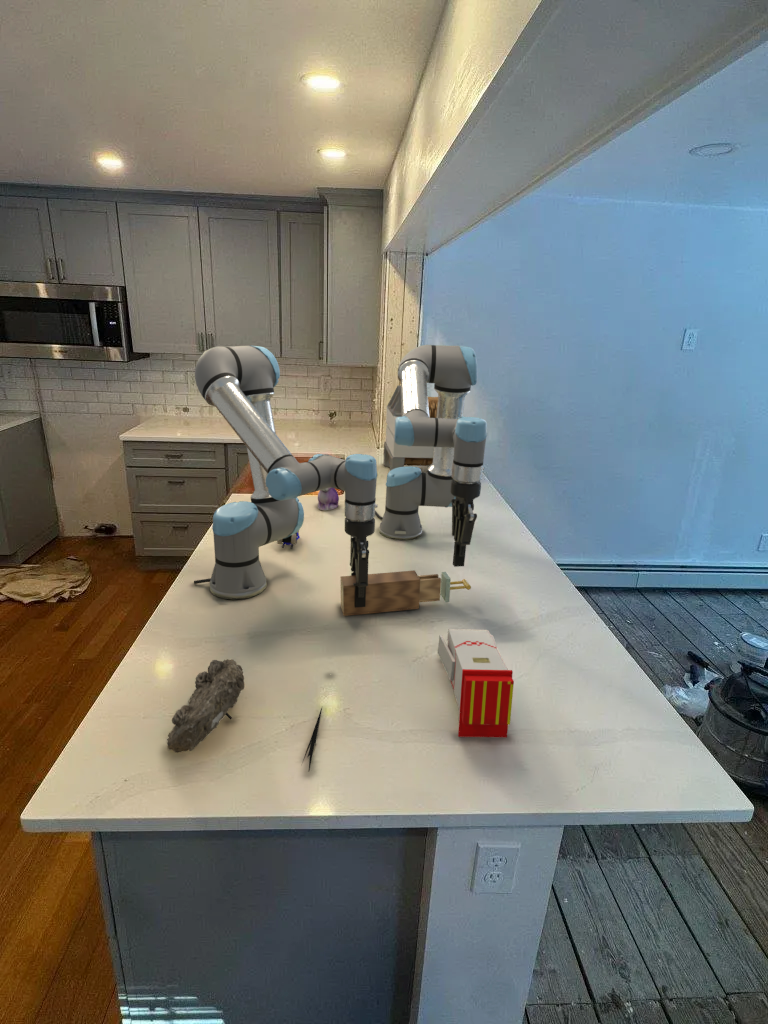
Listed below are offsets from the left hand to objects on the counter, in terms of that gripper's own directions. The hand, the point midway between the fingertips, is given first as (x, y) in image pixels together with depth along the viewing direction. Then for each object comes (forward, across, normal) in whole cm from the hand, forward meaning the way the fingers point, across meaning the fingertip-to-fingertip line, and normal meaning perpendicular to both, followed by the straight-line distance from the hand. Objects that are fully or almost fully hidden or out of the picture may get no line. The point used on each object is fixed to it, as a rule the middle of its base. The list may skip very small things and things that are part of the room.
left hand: (357, 600), depth 148 cm
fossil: (+3, -37, +34) cm, 50 cm away
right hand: (-9, 0, -27) cm, 28 cm away
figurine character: (+3, +46, +15) cm, 49 cm away
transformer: (+3, +126, -51) cm, 136 cm away
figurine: (+3, +81, -1) cm, 81 cm away
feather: (+3, -40, +14) cm, 43 cm away
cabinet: (+2, 0, -6) cm, 6 cm away
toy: (+3, -37, -18) cm, 41 cm away
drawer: (+1, 0, -18) cm, 18 cm away
